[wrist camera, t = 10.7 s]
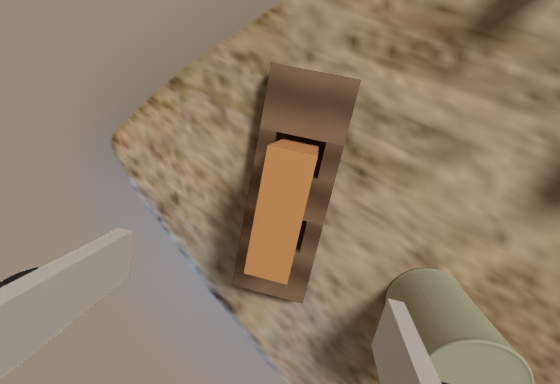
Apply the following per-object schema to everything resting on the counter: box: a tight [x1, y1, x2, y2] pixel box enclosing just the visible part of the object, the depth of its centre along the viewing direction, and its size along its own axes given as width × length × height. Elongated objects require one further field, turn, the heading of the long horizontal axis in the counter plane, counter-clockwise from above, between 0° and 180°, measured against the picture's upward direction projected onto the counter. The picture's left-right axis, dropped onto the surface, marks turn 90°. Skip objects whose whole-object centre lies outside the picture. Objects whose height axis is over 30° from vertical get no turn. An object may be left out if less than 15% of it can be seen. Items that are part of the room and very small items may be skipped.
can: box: [385, 268, 534, 384], centre depth 28 cm, size 9×9×12 cm
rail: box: [232, 63, 361, 304], centre depth 32 cm, size 26×9×2 cm, turn 169°
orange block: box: [244, 138, 319, 285], centre depth 28 cm, size 12×4×10 cm, turn 168°
